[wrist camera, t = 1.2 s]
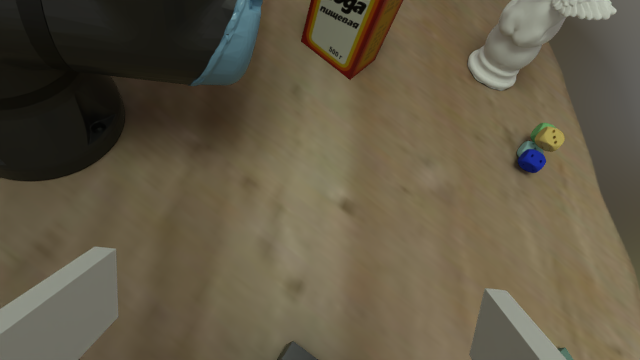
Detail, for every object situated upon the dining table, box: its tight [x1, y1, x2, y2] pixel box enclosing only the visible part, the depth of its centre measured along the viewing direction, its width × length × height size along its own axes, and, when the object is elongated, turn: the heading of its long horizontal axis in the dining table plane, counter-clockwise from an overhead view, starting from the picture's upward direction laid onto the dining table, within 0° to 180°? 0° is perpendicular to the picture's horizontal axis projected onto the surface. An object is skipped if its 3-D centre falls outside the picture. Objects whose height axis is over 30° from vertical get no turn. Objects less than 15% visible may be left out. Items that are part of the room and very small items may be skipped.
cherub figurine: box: [468, 0, 616, 91], centre depth 52 cm, size 12×12×22 cm
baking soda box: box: [301, 0, 403, 80], centre depth 49 cm, size 10×6×16 cm
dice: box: [517, 123, 565, 173], centre depth 51 cm, size 8×3×6 cm, turn 147°
